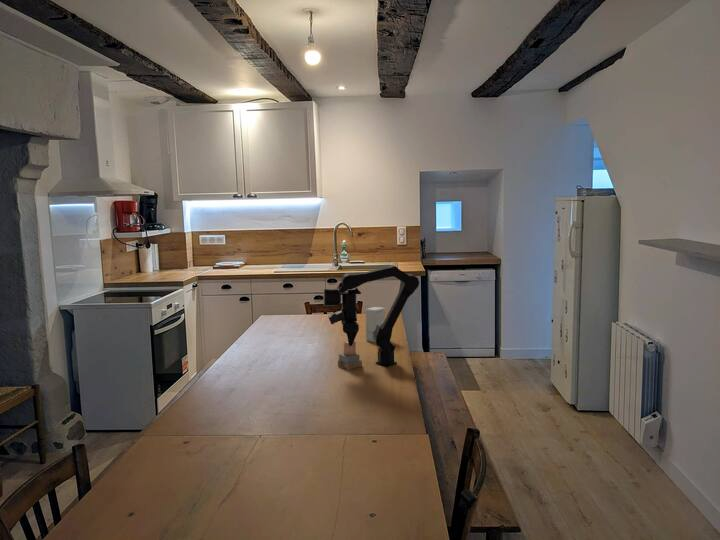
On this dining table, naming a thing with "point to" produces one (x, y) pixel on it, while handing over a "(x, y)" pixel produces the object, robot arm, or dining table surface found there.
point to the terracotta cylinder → (349, 348)
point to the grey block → (348, 358)
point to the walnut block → (350, 364)
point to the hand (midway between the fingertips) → (349, 342)
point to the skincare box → (373, 321)
